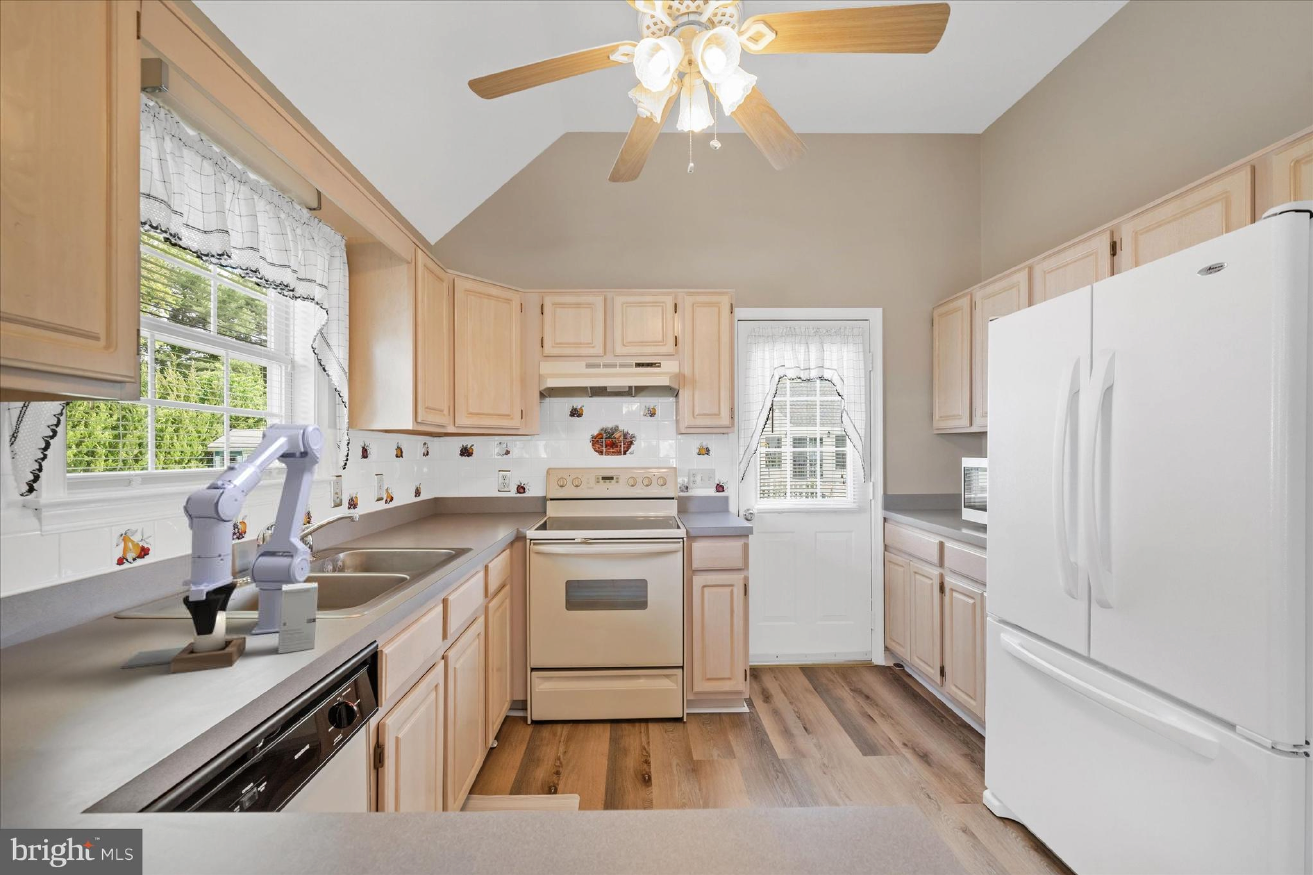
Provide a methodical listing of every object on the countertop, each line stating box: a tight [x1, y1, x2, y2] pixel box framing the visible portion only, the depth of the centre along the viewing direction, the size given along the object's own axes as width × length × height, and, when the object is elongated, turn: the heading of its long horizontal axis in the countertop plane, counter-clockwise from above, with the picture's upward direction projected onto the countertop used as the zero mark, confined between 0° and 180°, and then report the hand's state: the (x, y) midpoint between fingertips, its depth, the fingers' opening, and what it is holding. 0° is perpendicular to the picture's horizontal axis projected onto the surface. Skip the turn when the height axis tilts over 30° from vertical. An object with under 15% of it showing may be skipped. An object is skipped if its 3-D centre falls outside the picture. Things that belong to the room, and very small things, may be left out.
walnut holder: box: [171, 636, 247, 675], centre depth 98 cm, size 8×8×2 cm
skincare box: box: [277, 581, 319, 655], centre depth 105 cm, size 6×4×12 cm
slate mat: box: [120, 646, 186, 669], centre depth 99 cm, size 7×7×1 cm
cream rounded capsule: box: [193, 611, 227, 653], centre depth 98 cm, size 4×4×6 cm
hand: (209, 629), depth 98 cm, fingers closed on cream rounded capsule, 4 cm apart
